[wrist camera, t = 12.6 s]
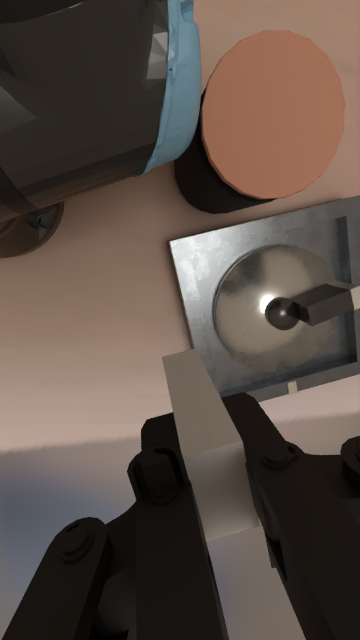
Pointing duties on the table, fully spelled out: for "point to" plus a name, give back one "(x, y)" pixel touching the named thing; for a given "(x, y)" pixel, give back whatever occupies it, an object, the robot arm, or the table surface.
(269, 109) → the coffee jar
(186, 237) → the grey square tray
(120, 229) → the table surface
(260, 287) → the dial
